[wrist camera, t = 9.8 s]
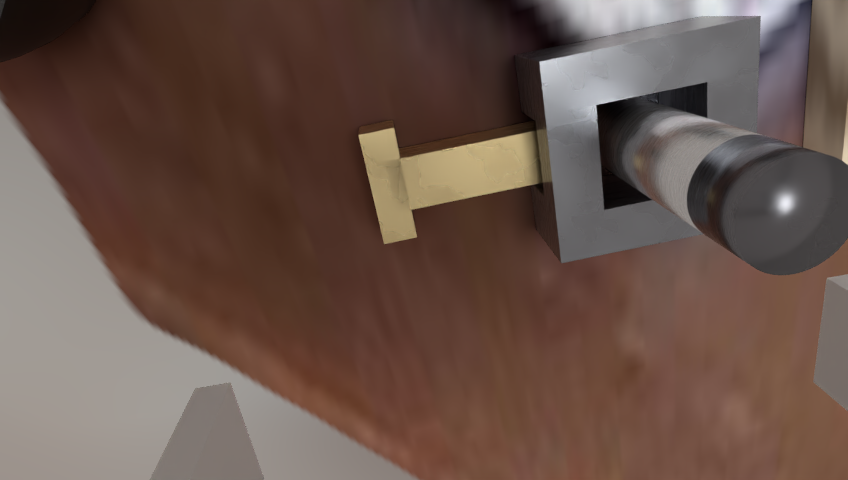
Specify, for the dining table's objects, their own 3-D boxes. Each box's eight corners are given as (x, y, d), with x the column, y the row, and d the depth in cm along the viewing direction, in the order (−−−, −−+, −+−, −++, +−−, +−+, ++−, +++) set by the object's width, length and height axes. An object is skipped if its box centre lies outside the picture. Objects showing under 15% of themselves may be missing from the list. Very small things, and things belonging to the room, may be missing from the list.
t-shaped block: (360, 126, 30) (358, 135, 28) (560, 85, 30) (574, 90, 28) (383, 228, 32) (384, 243, 30) (570, 190, 32) (584, 202, 30)
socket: (514, 55, 30) (539, 61, 25) (700, 16, 30) (760, 16, 25) (536, 229, 33) (561, 263, 29) (701, 195, 33) (753, 223, 29)
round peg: (575, 100, 31) (736, 168, 17) (646, 85, 31) (868, 141, 17) (581, 170, 32) (734, 286, 18) (649, 156, 32) (855, 261, 18)
